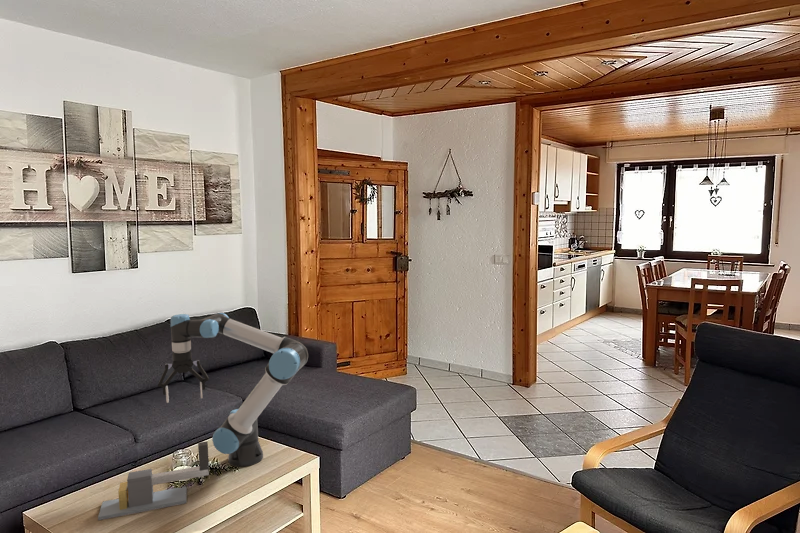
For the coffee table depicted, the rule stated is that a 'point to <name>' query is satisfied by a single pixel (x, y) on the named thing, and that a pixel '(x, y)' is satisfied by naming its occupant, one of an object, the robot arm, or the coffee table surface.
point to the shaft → (188, 472)
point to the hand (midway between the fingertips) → (184, 399)
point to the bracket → (142, 497)
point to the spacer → (123, 495)
